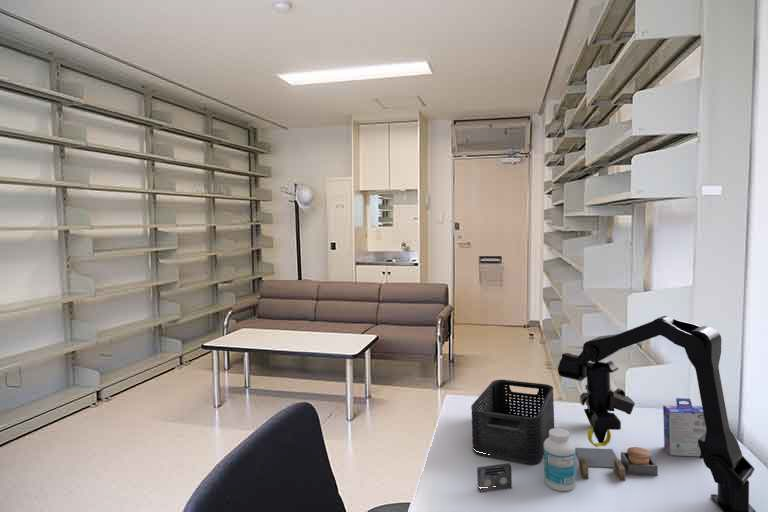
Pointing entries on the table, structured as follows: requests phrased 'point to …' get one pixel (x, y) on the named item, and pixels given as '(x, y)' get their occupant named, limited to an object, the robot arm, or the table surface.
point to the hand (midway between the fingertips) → (599, 440)
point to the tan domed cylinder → (638, 455)
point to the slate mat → (597, 457)
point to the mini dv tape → (494, 477)
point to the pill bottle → (559, 460)
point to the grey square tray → (639, 466)
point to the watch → (599, 443)
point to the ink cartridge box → (683, 428)
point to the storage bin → (512, 421)
